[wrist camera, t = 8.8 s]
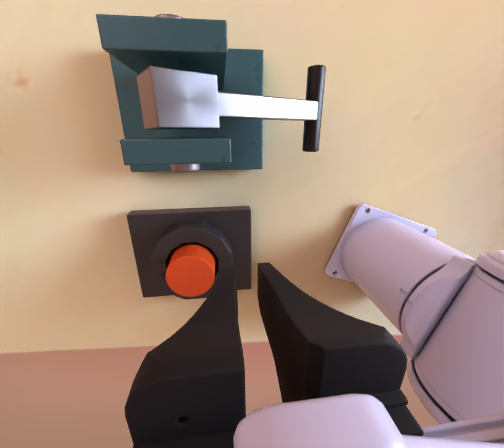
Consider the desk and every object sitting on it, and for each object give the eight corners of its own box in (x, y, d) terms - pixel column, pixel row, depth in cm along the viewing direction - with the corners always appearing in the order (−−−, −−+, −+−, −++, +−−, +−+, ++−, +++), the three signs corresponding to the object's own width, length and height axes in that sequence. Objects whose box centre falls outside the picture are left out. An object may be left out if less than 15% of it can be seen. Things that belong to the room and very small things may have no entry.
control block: (249, 205, 21) (253, 216, 19) (249, 281, 24) (253, 301, 21) (131, 210, 20) (117, 223, 17) (146, 289, 23) (136, 311, 20)
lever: (308, 71, 16) (338, 64, 14) (302, 150, 18) (329, 151, 16) (130, 37, 10) (143, 16, 8) (148, 159, 12) (163, 164, 10)
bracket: (260, 54, 17) (305, -30, 8) (259, 167, 20) (292, 194, 11) (115, 50, 16) (-16, -54, 7) (135, 169, 19) (60, 203, 10)
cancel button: (213, 242, 19) (213, 254, 18) (216, 280, 21) (215, 295, 19) (167, 245, 19) (162, 257, 17) (173, 283, 20) (168, 299, 18)
